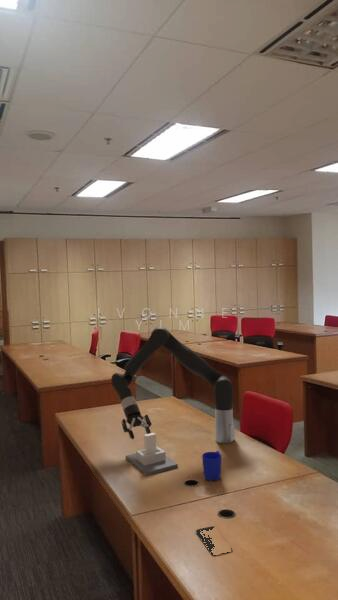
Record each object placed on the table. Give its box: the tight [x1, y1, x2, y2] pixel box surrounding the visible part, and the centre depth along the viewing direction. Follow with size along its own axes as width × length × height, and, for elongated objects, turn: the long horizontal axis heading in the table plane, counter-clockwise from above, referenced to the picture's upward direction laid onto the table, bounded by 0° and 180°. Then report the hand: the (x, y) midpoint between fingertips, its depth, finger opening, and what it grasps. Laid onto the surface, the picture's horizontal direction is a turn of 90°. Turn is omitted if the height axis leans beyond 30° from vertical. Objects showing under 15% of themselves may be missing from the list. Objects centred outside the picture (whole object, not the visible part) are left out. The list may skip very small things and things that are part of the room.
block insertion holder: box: [125, 445, 179, 476], centre depth 214 cm, size 22×16×6 cm
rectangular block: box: [143, 432, 157, 455], centre depth 214 cm, size 2×5×12 cm, turn 120°
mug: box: [201, 450, 222, 482], centre depth 198 cm, size 8×12×10 cm
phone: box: [195, 525, 215, 555], centre depth 150 cm, size 7×1×15 cm
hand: (141, 436), depth 222 cm, fingers open, 8 cm apart
